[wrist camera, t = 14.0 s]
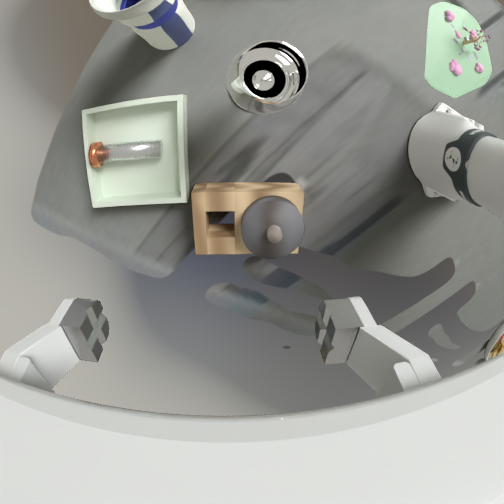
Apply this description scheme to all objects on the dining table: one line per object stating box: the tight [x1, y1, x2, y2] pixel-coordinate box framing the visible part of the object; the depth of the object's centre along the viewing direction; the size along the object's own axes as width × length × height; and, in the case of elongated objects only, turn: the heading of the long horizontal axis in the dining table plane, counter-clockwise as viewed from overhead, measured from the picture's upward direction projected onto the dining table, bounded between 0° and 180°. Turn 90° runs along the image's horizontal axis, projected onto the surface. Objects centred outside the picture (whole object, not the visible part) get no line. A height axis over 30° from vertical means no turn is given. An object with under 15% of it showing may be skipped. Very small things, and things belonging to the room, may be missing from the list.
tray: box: [82, 95, 190, 208], centre depth 37 cm, size 16×16×4 cm
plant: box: [425, 2, 492, 98], centre depth 26 cm, size 25×21×9 cm
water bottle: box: [89, 0, 195, 50], centre depth 18 cm, size 8×8×25 cm
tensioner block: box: [191, 182, 305, 259], centre depth 41 cm, size 16×10×9 cm, turn 89°
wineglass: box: [226, 40, 308, 114], centre depth 27 cm, size 8×8×20 cm
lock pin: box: [88, 139, 163, 168], centre depth 36 cm, size 4×4×11 cm
